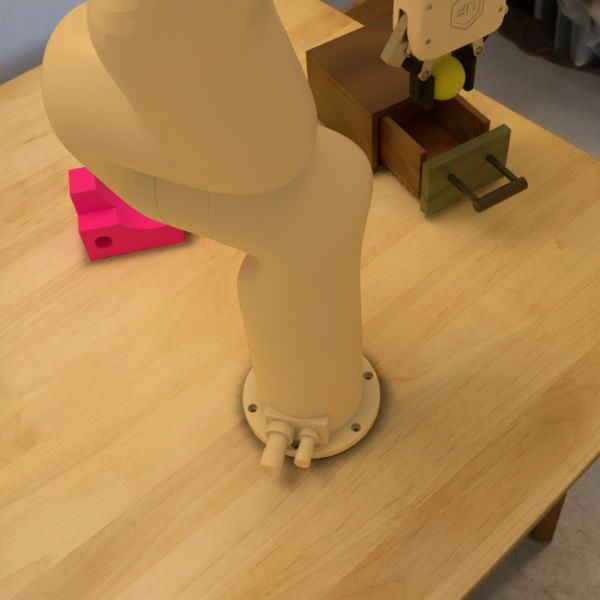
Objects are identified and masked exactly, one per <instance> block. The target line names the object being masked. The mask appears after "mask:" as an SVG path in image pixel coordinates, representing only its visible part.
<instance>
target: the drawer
mask: <svg viewBox="0 0 600 600" xmlns="http://www.w3.org/2000/svg"><path fill="white" fill-rule="evenodd" d="M377 118H378V158H379V159H380V160H381V161H382V162H383V163H384V164H385V165H386V166H387V167H386V168H387V169H388V170H390V172H392V174H394V175H395V177H397V179H399V180H400V182H401V183H402V184H403V185H404V186H405V187H407V189H409V191H411V192H412V194H414V196H416V198H418V199H420V206H419V211H420V212H421V213H422V214H424V216H425V217H428V216H431V215H433V214H434V213H437V212H438V211H440V210H443V209H444V208H447V207H448V206H450V205H452V204H454V203H456V202H458V201H461V200H462V199H464V198H467V199H468V201H470V202H471V204H472V205H471V206H472V208H473V210H474V211H475V212H476V214H481V213H483V212H485V211H487V210H489V209H490V208H493V207H494V206H496V205H499V204H500V203H502V202H504V201H506V200H508V199H510V198H512V197H514V196H516V195H518V194H520V193H522V192H523V191H525V190H527V189H528V187H529V183H528V180H527V179H526V178H525V177H524V176H519V177H518V175H515V174H514V173H513V172H512V171H511V170H510V169H509V168H508V167H507V160H508V156H509V155H508V154H509V147H510V142H511V136H512V128H511V127H509V126H508V125H507V124H505V123H502V124H500V125H498V126H496V127H494V128H492V129H490V128H491V119H489V118H488V117H487V116H486V115H484V114H483V113H482V112H481V111H480V110H478V108H476V107H475V106H474V105H472V104H471V103H470V102H469V101H468V100H467V99H465V97H463V96H462V94H460V93H458V94H457V95H456V96H454V97H452V98H450V99H446V100H438V99H434V103H433V107H432V109H431V110H429V111H426V110H425V109H424V108H423V107H421V106H420V105H419V104H418V103H417V102H414V101H412V102H410V103H408V104H405V105H403V106H401V107H399V108H397V109H395V110H392V111H390V112H388V113H386V114H384V115H382V116H379V117H377ZM504 178H506V179H507V180H508V181H509V182H507V183H504V184H503V185H501V186H500V187H497V188H496V189H493V190H492V191H489V192H488V193H485V194H484V195H482V196H480V197H478V196H477V194H475V193H477V192H478V191H480V190H482V189H484V188H486V187H488V186H490V185H492V184H494V183H496V182H497V181H499V180H501V179H504Z"/></svg>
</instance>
